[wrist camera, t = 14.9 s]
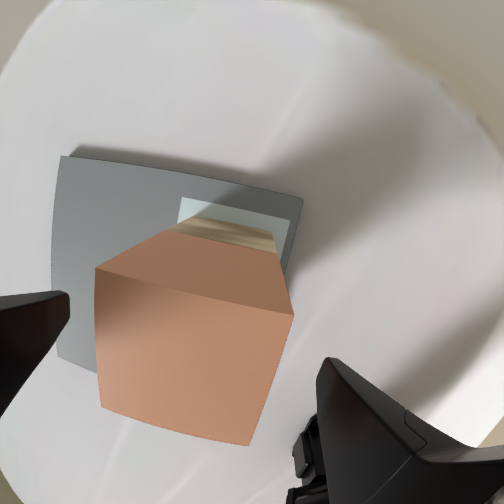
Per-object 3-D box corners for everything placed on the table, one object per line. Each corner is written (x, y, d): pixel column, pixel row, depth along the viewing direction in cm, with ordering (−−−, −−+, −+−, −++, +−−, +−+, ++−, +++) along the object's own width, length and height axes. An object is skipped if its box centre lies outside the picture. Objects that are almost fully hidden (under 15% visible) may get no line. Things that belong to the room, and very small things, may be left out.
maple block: (271, 231, 18) (277, 253, 12) (254, 303, 19) (253, 351, 14) (193, 215, 18) (164, 229, 12) (182, 287, 19) (154, 328, 13)
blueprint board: (301, 198, 19) (303, 199, 18) (243, 406, 23) (243, 414, 22) (68, 156, 18) (60, 155, 17) (63, 351, 22) (58, 356, 21)
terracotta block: (277, 254, 12) (293, 315, 7) (252, 351, 14) (248, 446, 8) (165, 229, 12) (95, 267, 6) (153, 328, 13) (101, 406, 8)
